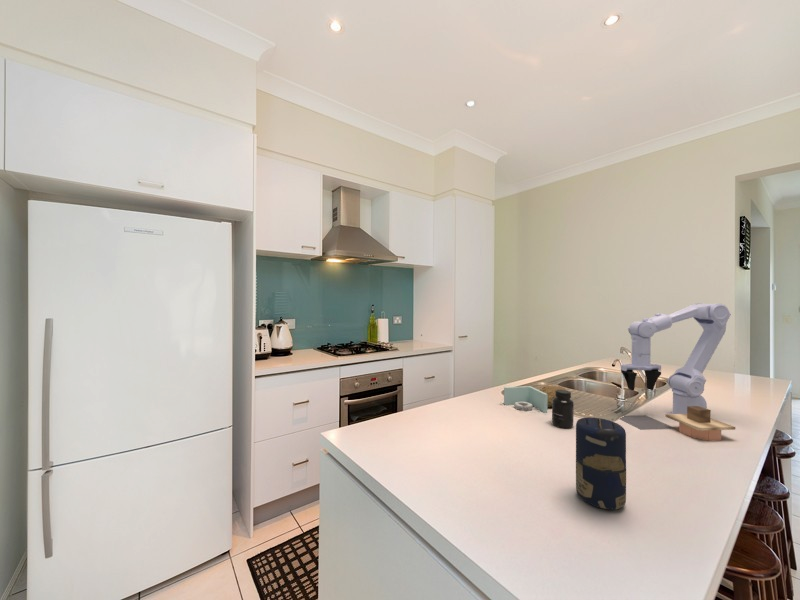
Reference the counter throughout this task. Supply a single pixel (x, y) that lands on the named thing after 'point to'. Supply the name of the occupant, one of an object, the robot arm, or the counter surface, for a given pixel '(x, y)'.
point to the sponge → (551, 393)
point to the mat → (645, 422)
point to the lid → (699, 419)
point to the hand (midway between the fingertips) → (640, 389)
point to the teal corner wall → (525, 398)
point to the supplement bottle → (562, 410)
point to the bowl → (700, 433)
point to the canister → (601, 462)
